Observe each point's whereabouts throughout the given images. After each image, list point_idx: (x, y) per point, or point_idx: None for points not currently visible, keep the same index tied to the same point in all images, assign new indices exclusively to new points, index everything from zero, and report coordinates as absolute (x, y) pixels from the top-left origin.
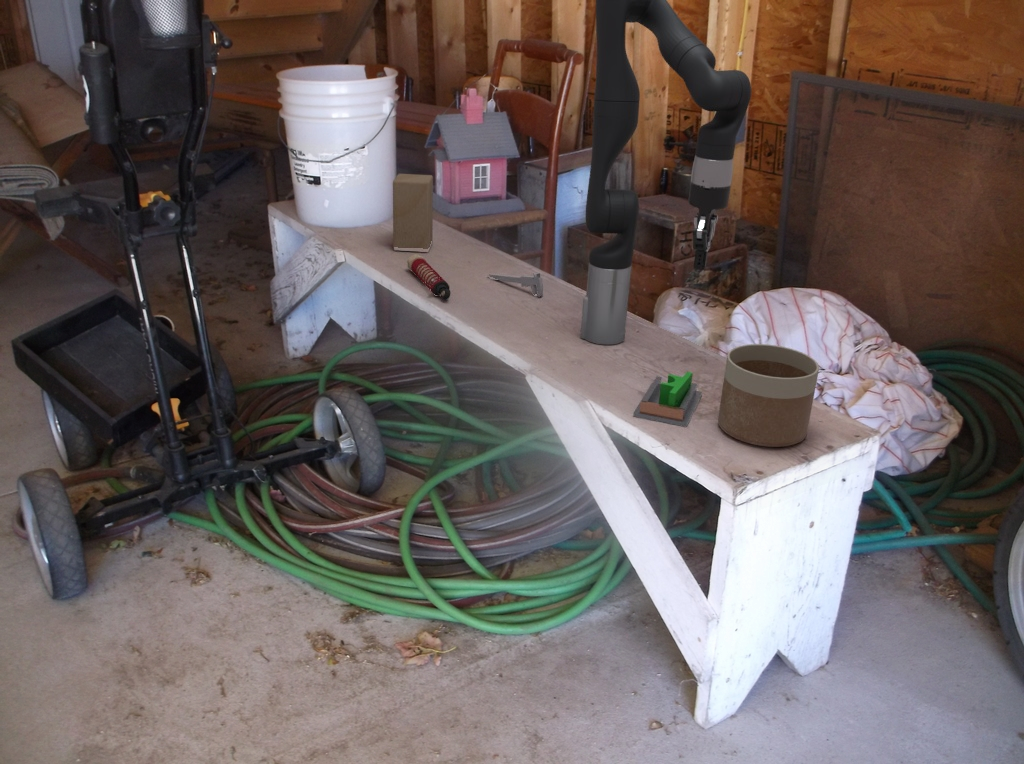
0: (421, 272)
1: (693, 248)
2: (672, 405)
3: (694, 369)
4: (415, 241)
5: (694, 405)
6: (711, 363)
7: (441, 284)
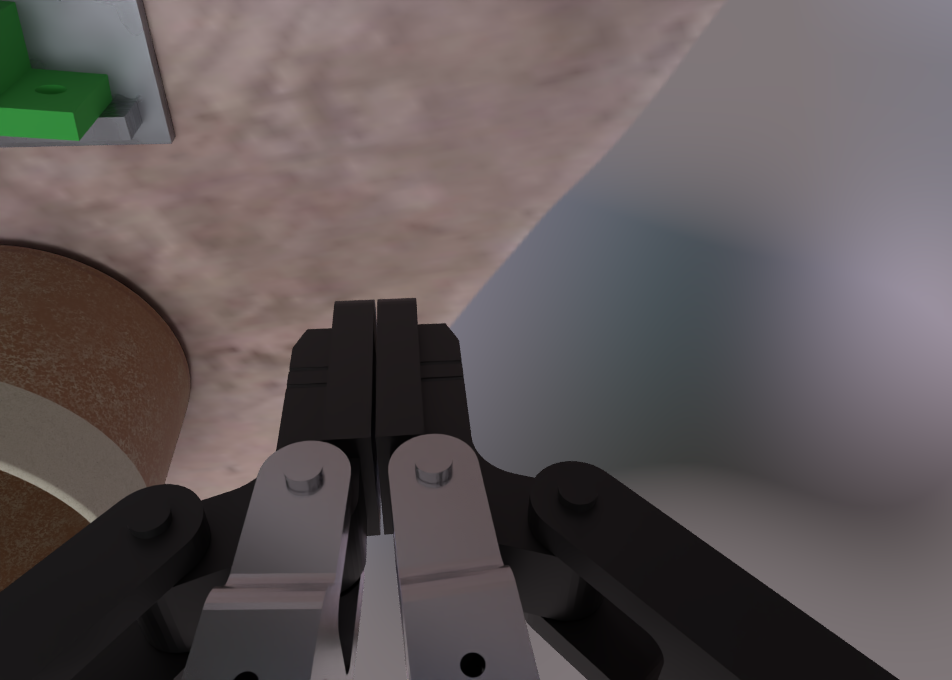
0: None
1: (107, 512)
2: None
3: (448, 47)
4: None
5: (8, 143)
6: (551, 104)
7: None
